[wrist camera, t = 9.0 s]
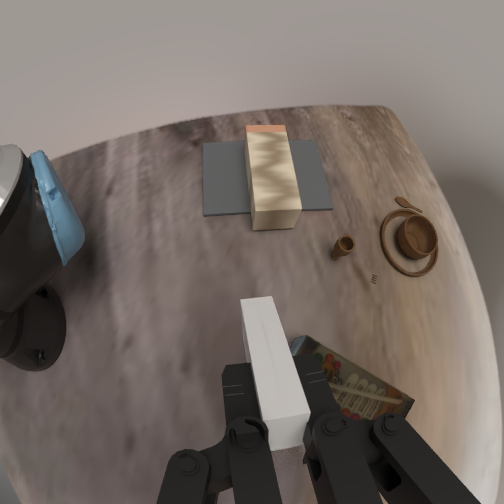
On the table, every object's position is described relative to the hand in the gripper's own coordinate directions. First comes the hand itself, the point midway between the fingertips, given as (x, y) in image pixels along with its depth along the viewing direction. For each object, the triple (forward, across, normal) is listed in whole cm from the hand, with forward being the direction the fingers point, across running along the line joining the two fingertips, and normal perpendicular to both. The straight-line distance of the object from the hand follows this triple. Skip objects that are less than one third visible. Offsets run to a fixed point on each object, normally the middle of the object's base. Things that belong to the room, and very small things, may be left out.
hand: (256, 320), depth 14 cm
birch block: (+25, +6, -4) cm, 26 cm away
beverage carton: (+10, +12, -24) cm, 29 cm away
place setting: (+26, +26, -9) cm, 38 cm away
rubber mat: (+35, +7, 0) cm, 35 cm away
